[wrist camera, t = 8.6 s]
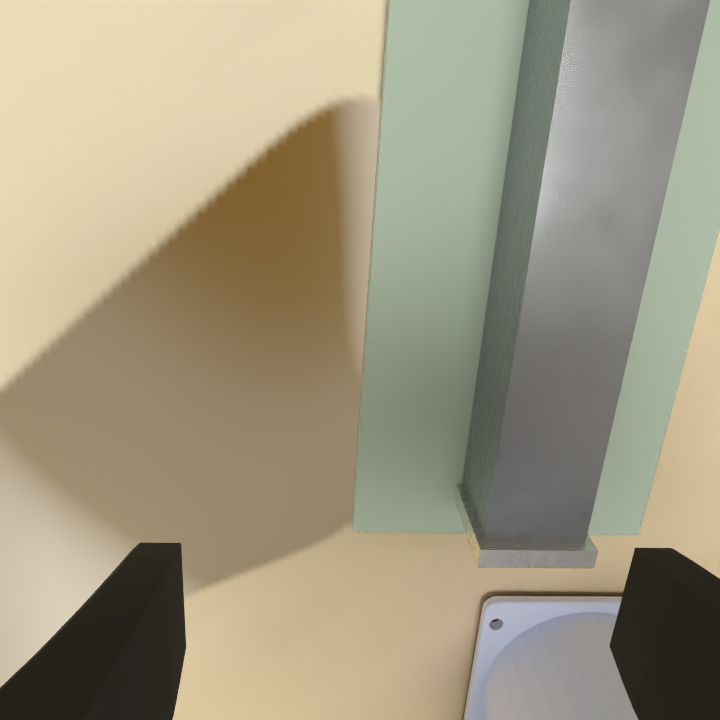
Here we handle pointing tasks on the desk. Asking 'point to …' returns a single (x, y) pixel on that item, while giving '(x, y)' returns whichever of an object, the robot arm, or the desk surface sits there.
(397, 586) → the desk surface
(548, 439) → the rail
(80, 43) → the desk surface
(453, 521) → the mat
